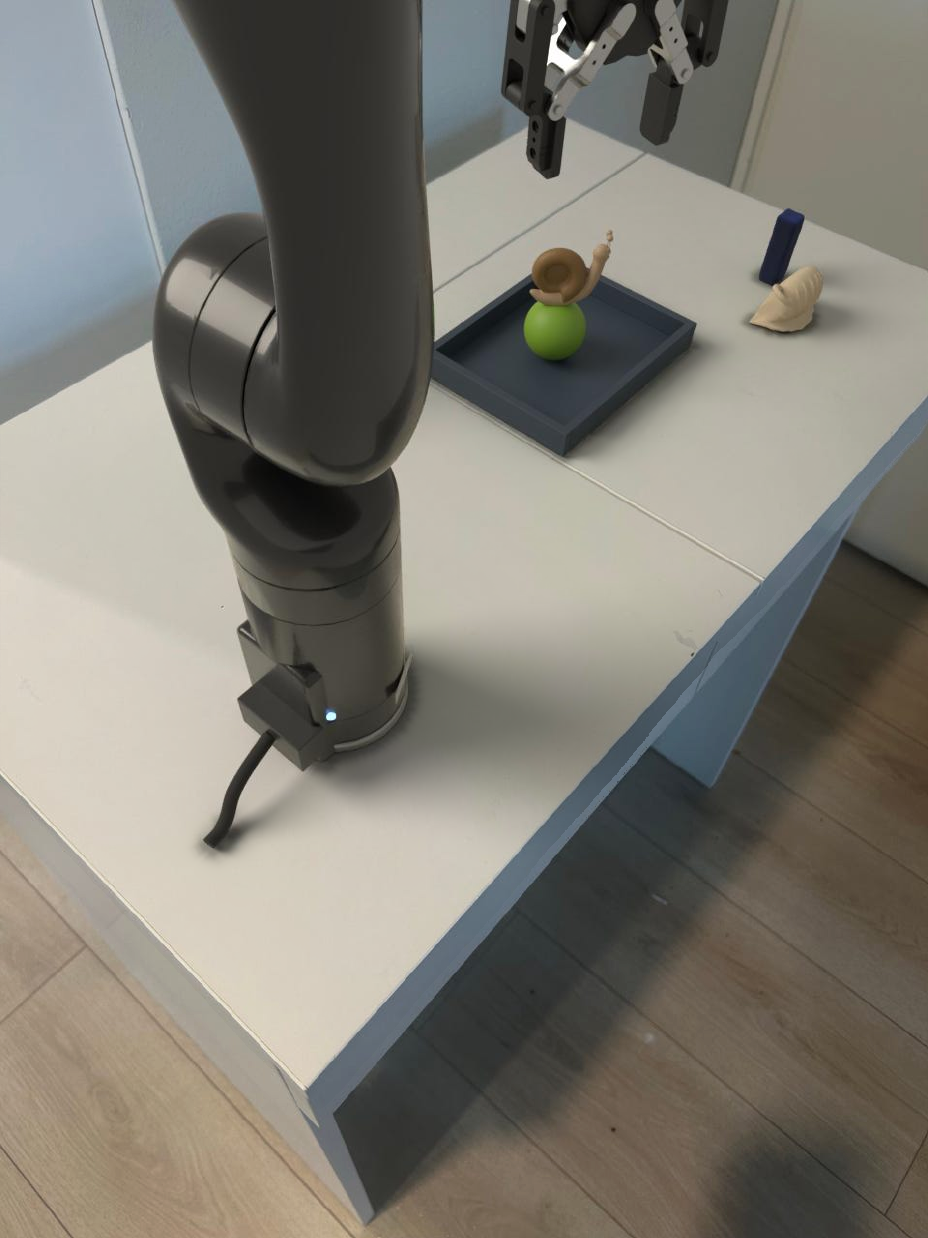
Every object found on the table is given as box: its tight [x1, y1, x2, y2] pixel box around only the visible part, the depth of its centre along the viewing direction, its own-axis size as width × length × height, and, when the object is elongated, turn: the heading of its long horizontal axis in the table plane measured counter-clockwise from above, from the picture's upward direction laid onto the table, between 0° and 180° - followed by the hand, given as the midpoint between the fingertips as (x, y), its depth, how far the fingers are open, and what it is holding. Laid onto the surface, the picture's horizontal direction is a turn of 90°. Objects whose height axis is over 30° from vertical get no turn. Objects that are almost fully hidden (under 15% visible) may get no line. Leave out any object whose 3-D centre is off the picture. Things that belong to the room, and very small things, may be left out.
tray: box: [431, 266, 698, 458], centre depth 84 cm, size 20×16×2 cm
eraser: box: [758, 207, 806, 287], centre depth 91 cm, size 2×2×7 cm
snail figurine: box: [524, 229, 614, 361], centre depth 80 cm, size 5×6×12 cm
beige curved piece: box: [748, 264, 824, 333], centre depth 87 cm, size 4×8×5 cm, turn 132°
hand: (600, 155), depth 60 cm, fingers open, 8 cm apart
